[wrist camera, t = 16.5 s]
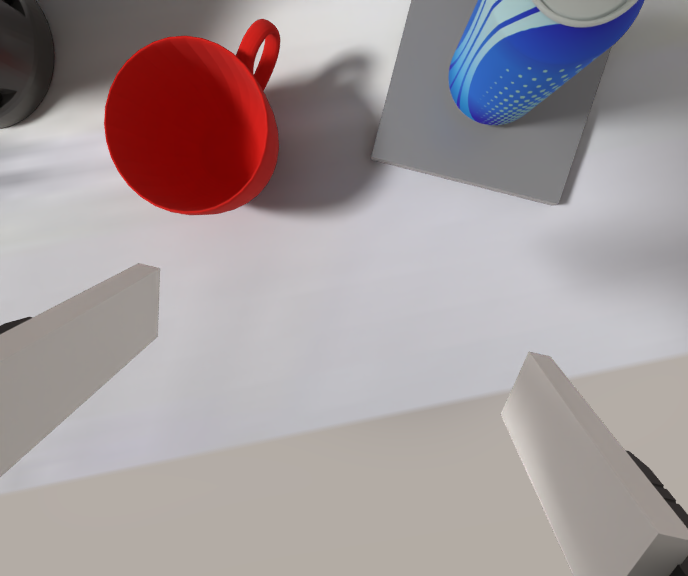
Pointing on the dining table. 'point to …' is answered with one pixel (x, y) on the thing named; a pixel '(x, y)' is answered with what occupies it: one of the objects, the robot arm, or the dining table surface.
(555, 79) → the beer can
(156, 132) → the ceramic cup
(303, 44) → the dining table surface
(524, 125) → the slate tile
